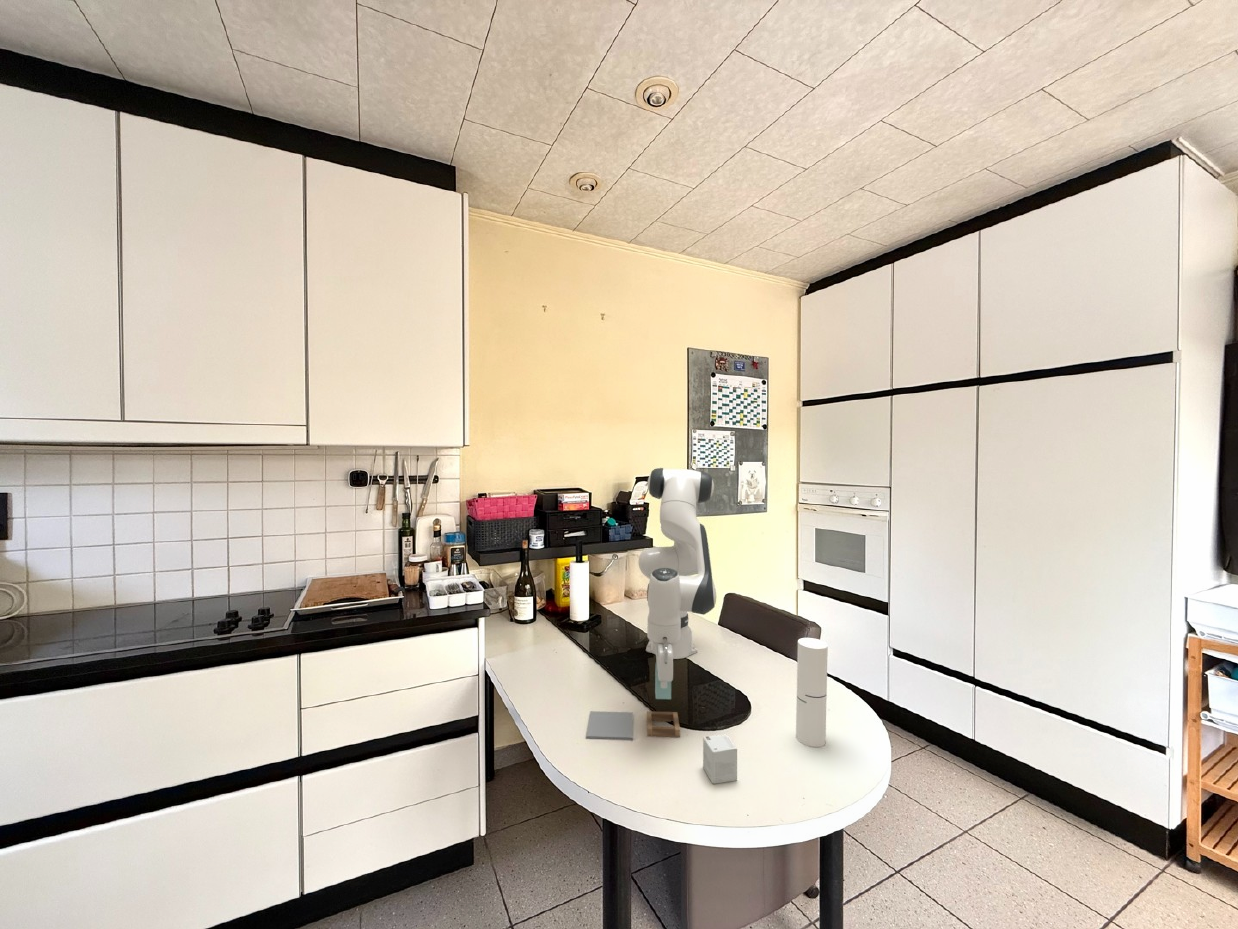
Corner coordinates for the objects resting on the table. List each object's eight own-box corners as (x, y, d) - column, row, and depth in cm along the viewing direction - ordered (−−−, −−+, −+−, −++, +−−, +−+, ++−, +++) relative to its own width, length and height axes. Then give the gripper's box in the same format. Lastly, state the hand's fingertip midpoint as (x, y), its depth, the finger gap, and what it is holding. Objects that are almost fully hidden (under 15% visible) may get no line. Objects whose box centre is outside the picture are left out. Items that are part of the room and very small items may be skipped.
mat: (590, 713, 137) (590, 711, 137) (633, 714, 136) (633, 712, 136) (586, 738, 125) (586, 736, 125) (632, 740, 124) (632, 737, 124)
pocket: (646, 718, 134) (646, 711, 134) (677, 719, 134) (677, 712, 134) (647, 736, 126) (647, 728, 126) (679, 737, 126) (680, 729, 125)
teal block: (655, 691, 132) (655, 662, 132) (670, 691, 132) (670, 662, 131) (655, 699, 128) (656, 669, 128) (671, 699, 128) (671, 669, 127)
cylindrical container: (822, 750, 121) (825, 651, 120) (793, 741, 124) (795, 644, 124) (827, 736, 127) (829, 641, 126) (799, 727, 130) (801, 635, 130)
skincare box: (737, 781, 109) (738, 748, 109) (712, 784, 108) (712, 752, 108) (726, 764, 115) (726, 733, 115) (702, 767, 114) (702, 736, 114)
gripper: (679, 647, 119) (678, 702, 119) (673, 618, 139) (672, 665, 140) (653, 646, 119) (652, 702, 119) (650, 617, 139) (650, 665, 140)
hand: (663, 682), depth 130 cm, fingers closed on teal block, 4 cm apart
